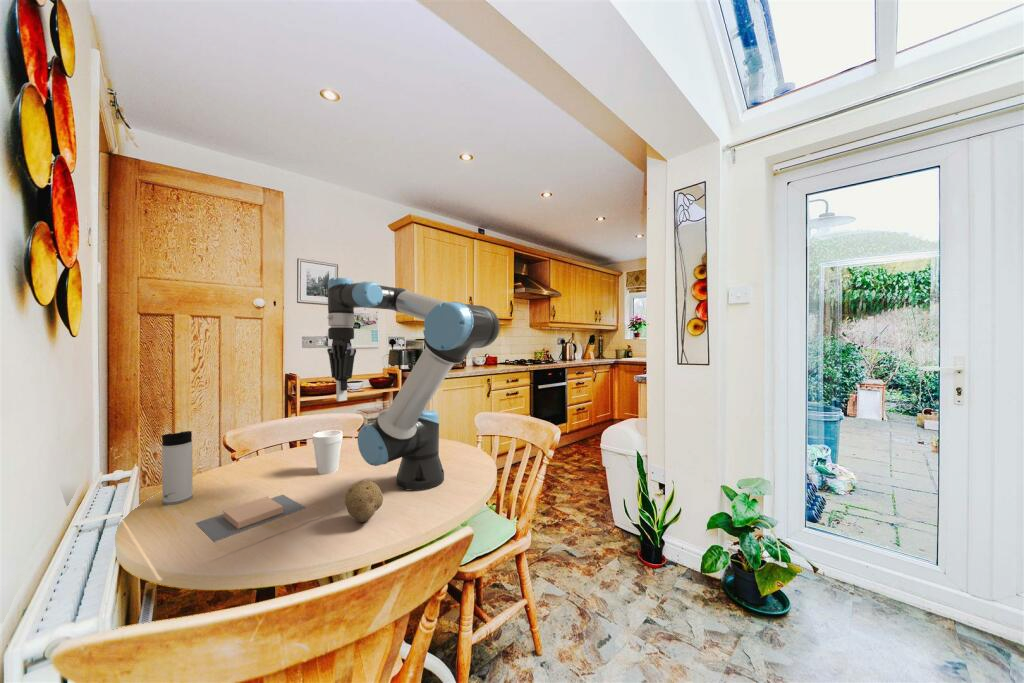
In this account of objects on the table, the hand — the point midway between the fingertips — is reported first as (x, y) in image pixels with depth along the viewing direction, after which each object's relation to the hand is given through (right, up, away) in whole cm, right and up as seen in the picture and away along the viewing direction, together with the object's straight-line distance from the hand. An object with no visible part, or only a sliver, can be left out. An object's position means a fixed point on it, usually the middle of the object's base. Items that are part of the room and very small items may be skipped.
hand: (341, 400), depth 116 cm
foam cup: (-9, -26, +10) cm, 30 cm away
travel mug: (-40, -27, -14) cm, 50 cm away
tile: (-16, -25, -20) cm, 36 cm away
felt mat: (-13, -27, -22) cm, 37 cm away
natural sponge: (+17, -27, -24) cm, 40 cm away
